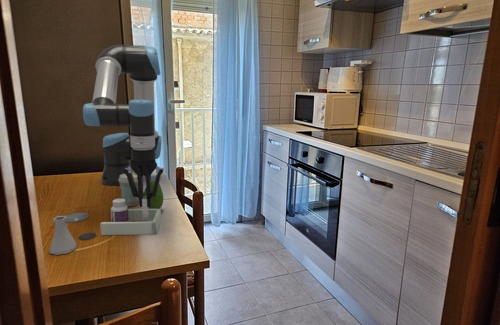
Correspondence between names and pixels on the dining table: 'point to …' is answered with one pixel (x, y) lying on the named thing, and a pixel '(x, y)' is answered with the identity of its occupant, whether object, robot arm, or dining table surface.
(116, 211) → the pill bottle
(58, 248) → the flask
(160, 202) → the fruit
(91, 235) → the hole pad
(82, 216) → the coaster
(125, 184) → the coffee cup
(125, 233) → the frame
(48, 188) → the dining table surface
